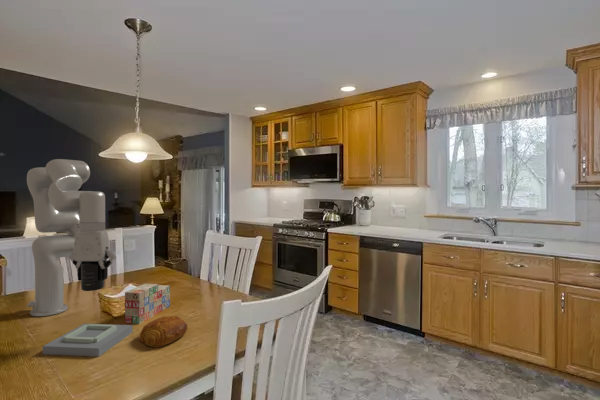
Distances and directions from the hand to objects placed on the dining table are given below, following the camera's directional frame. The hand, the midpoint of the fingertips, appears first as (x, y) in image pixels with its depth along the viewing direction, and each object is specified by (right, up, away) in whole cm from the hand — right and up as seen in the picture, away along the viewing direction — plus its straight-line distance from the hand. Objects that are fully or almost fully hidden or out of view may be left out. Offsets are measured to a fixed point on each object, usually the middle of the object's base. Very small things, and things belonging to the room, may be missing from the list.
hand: (92, 279), depth 113 cm
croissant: (+24, -21, +1) cm, 32 cm away
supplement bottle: (0, -3, 0) cm, 3 cm away
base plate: (+1, -20, -3) cm, 21 cm away
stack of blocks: (+9, -20, +24) cm, 32 cm away
